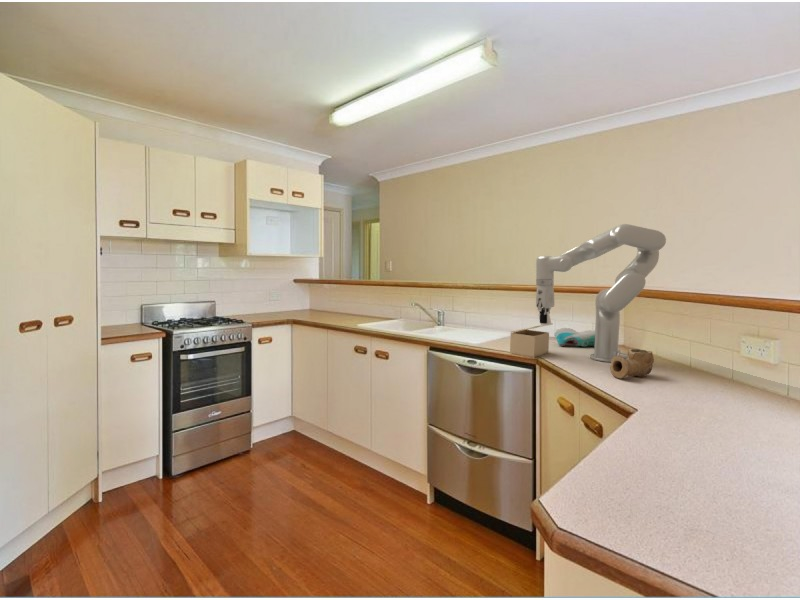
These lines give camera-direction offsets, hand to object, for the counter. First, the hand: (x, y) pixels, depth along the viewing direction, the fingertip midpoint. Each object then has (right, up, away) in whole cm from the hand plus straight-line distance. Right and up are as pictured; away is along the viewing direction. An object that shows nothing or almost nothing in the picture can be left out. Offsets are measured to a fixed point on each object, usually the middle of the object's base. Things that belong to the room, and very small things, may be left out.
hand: (544, 322), depth 189 cm
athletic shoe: (+27, -14, +24) cm, 39 cm away
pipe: (+21, -19, -34) cm, 44 cm away
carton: (-5, -15, +6) cm, 17 cm away
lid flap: (-4, -3, +4) cm, 6 cm away
